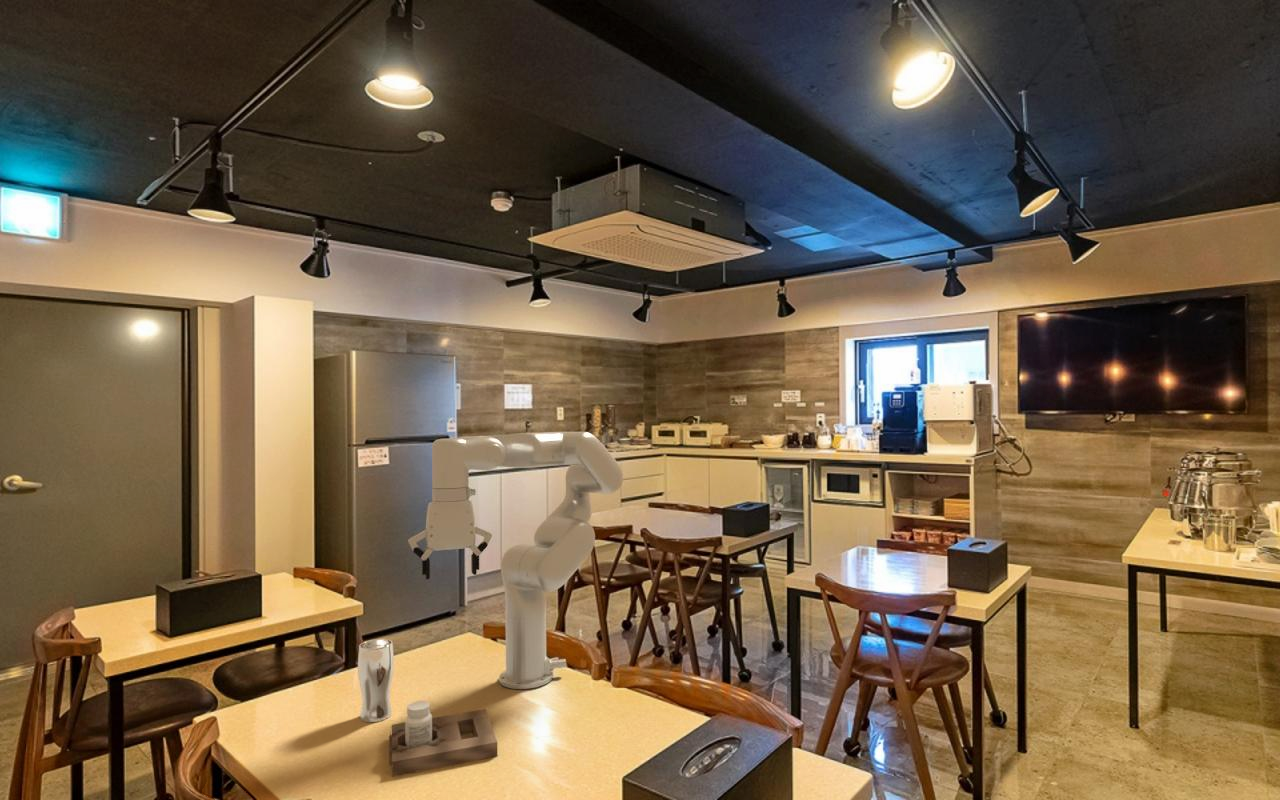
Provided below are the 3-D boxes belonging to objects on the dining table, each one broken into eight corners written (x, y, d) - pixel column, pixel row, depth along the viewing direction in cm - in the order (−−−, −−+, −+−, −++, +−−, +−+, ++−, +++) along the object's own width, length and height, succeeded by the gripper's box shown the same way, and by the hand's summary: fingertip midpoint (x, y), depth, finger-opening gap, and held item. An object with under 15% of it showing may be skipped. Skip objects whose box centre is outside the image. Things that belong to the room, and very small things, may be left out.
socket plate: (485, 721, 133) (485, 708, 133) (497, 755, 119) (497, 741, 119) (389, 738, 126) (389, 725, 127) (389, 777, 112) (389, 762, 113)
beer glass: (400, 711, 138) (400, 639, 139) (377, 725, 132) (377, 650, 132) (374, 707, 141) (374, 636, 141) (350, 721, 134) (350, 647, 135)
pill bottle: (409, 745, 124) (409, 700, 124) (434, 744, 124) (434, 699, 124) (402, 758, 119) (402, 711, 119) (428, 756, 119) (428, 710, 120)
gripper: (488, 491, 147) (489, 568, 146) (407, 496, 141) (407, 576, 140) (493, 495, 140) (494, 575, 139) (408, 499, 134) (408, 583, 133)
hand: (451, 575), depth 140 cm, fingers open, 9 cm apart
